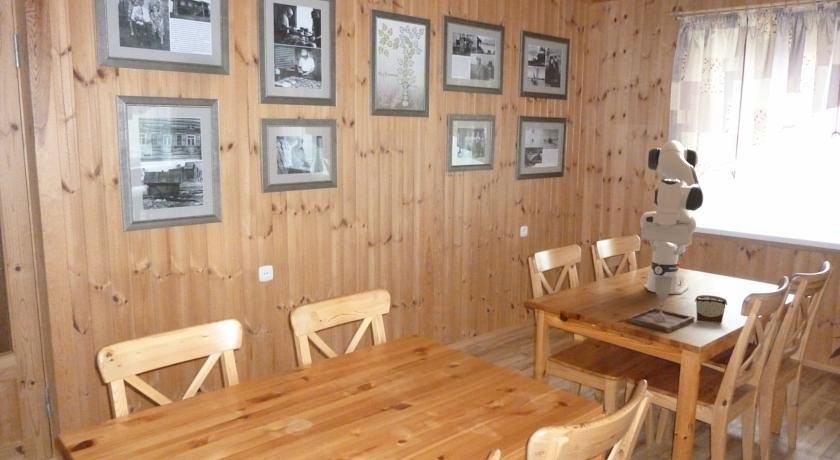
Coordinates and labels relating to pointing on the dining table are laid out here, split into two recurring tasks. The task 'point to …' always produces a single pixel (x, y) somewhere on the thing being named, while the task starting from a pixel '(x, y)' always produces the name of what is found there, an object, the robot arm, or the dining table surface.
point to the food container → (710, 308)
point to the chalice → (662, 293)
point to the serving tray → (670, 325)
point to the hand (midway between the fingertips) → (664, 252)
